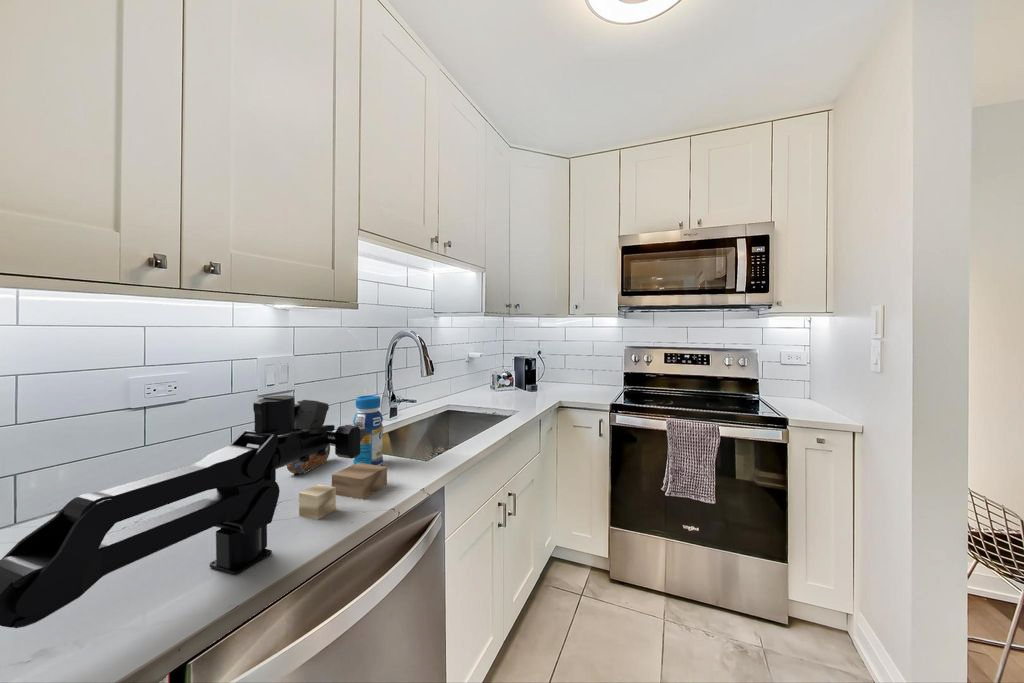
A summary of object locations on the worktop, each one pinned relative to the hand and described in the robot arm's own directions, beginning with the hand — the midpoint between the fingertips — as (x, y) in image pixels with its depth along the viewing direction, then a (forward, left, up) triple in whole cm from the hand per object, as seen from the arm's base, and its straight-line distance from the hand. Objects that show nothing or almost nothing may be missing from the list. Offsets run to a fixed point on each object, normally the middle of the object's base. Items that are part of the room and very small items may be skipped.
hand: (349, 429), depth 89 cm
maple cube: (-7, +2, -17) cm, 18 cm away
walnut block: (+6, +2, -17) cm, 18 cm away
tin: (+13, +26, -17) cm, 33 cm away
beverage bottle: (+21, +12, -17) cm, 29 cm away
